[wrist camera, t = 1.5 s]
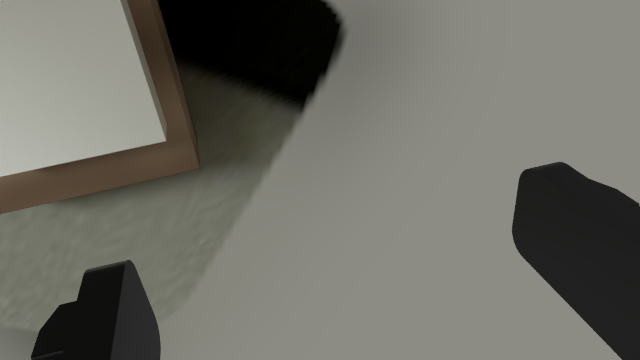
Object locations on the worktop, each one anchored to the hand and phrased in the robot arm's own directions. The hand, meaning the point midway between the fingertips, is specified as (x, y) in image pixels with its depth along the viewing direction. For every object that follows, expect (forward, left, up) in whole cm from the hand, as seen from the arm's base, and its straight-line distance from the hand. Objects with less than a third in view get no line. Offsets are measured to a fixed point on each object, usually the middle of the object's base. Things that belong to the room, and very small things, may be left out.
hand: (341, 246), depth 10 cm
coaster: (0, -9, -17) cm, 19 cm away
